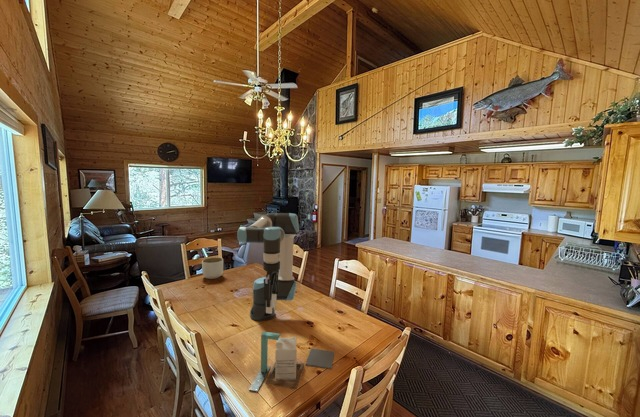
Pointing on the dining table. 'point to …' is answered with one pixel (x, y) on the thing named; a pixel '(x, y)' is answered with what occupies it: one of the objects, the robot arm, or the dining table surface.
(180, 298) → the dining table surface
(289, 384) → the frame
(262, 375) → the rail
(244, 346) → the dining table surface
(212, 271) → the planter
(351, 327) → the dining table surface
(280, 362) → the supplement box
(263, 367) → the teal bent bar
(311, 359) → the coaster
